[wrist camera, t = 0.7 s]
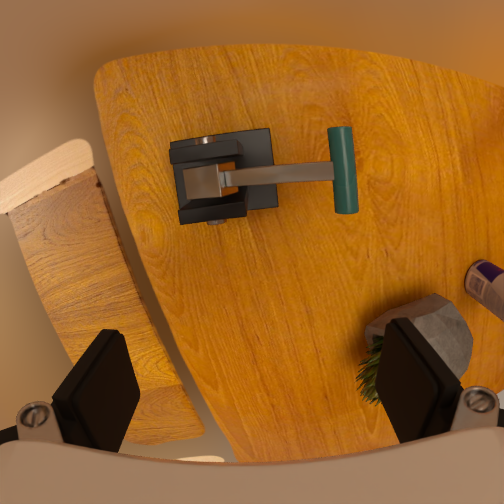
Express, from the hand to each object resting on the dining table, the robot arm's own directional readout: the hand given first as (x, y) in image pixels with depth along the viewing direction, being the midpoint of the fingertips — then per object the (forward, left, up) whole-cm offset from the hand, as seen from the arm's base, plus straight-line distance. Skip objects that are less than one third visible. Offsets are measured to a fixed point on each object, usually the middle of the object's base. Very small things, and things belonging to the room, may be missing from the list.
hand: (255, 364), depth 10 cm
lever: (-5, +2, -12) cm, 14 cm away
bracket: (-5, -2, -24) cm, 25 cm away
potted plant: (+17, +17, -24) cm, 34 cm away
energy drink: (+11, +30, -24) cm, 40 cm away
